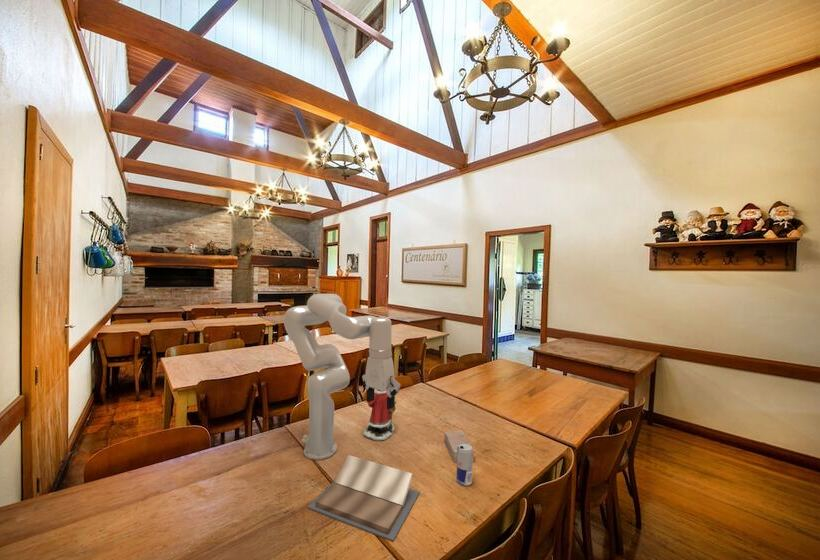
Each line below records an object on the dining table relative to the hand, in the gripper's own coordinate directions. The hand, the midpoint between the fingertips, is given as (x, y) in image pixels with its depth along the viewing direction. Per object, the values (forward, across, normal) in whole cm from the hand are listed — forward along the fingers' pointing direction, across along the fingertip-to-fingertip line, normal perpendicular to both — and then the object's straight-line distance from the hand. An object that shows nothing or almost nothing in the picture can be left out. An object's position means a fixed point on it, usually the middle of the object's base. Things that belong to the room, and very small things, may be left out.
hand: (380, 404), depth 103 cm
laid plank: (+26, +4, -13) cm, 30 cm away
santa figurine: (+25, -25, +24) cm, 43 cm away
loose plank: (+23, +1, -4) cm, 23 cm away
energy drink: (+27, +21, +20) cm, 40 cm away
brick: (+27, +10, +35) cm, 46 cm away
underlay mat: (+26, +3, -9) cm, 28 cm away
